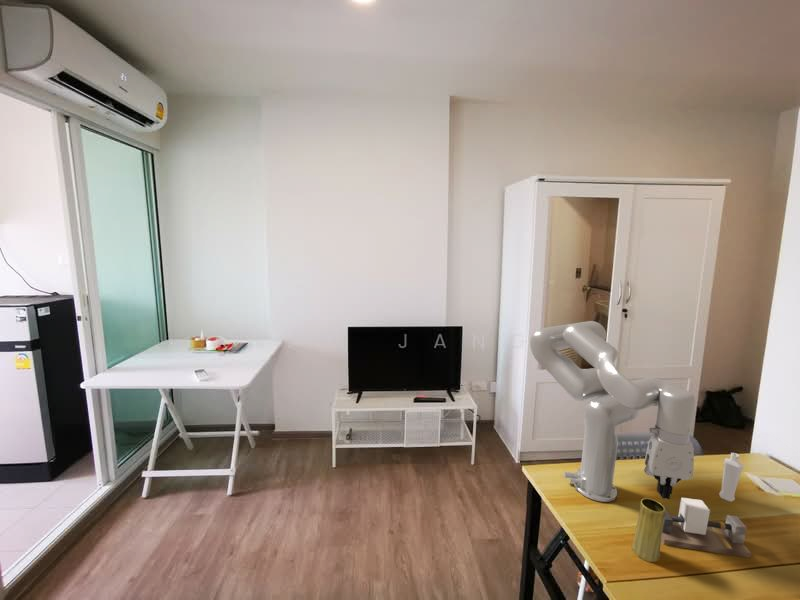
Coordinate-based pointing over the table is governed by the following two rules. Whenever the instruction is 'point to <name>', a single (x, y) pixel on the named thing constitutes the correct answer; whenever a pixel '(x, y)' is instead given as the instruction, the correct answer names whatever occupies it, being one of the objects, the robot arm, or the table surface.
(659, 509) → the vase
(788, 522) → the table surface
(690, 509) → the notched white rod block
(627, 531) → the table surface
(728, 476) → the perfume bottle
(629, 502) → the table surface
